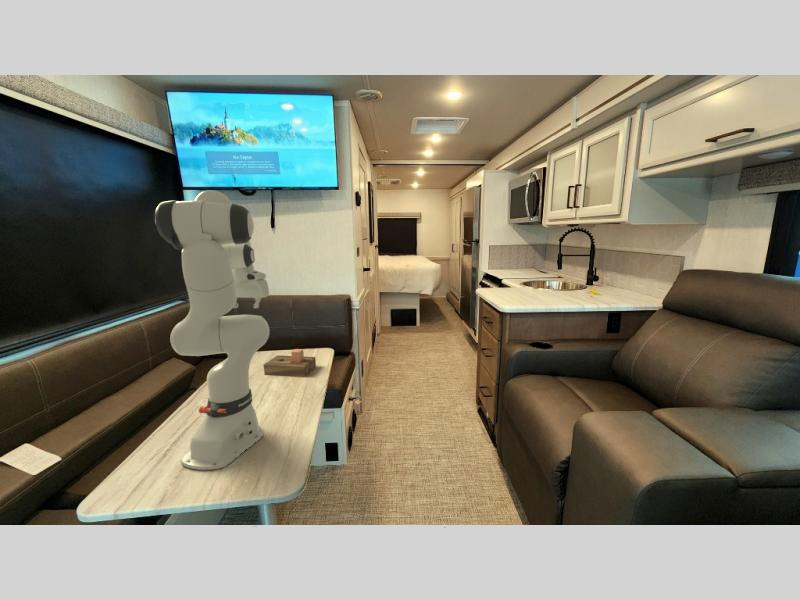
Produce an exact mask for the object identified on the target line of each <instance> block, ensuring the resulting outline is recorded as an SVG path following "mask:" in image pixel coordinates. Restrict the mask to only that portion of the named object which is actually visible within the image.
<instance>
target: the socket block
mask: <svg viewBox="0 0 800 600" xmlns="http://www.w3.org/2000/svg"><path fill="white" fill-rule="evenodd" d="M316 367H317V364H316V356H304V361H303V362H302V363H301V364H298V363H292V355H280V354H279V355H276V356H274V357H273V358H271V359H269V360H268V361H267V362H265V363H264V364H263V370H264V371H263V372H264V373H263V374H264V376H278V377H279V376H280V377H295V378H296V377H299V378H306V377H307V376H308V375H309V374H310V373H311V372H312V371H313V370H314V369H316Z"/></svg>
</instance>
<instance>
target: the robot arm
mask: <svg viewBox="0 0 800 600" xmlns="http://www.w3.org/2000/svg"><path fill="white" fill-rule="evenodd" d="M154 223H155V225H156V230H157V232H158V234H159V235H160V236H161V237H162V238H163V239H164V240H165V241H166V242H167V243H168V244H171V245H172V247H173V248H174V249H176V250H178V251H181V268H182V273H183V279H184V283H185V286H186V287H185V288H186V291H187V294H188V295H187V296H188V298H189V299H188V300H189V311H188V314H187V315H186V316H185V318H183V319H182V320H181V321H179V322H178V323H177V324H175V326H173V328H172V331H171V332H170V337H169V340H170V344H171V347H172V349H173V351H175V353H176V354H178V355H179V356H188V357H194V356H195V357H201V356H209V355H216V354H217V355H218V354H227V358H225V359H224V360H222V361H220V362H219V363H218V364H216V365H214V366H213V367H212V368H210V370H209V371H208V373H207V376H206V385H207V390H208V392H207V393H208V398H207V402H206V403H207V405H206V406H205V405H200V406H199V407H198V413H199V414H204V415H205V416H204V418H202V420H201V422H200V424H199V425H198V427H197V428H196V431H195V432H194V433H193V434H192V436H191V439H190V442H189V443H190V444H189V449H190V450H188V452H187V453H186V454H185V455H184V456H183V457H182V458H181V459H180V460H181V461H180V462H181V464H182V466H184V467H186V468H188V469H193V470H200V471H206V470H207V471H208V470H209V471H210V470H217V469H222V468H225V467H227V466H228V465H229V464H230V463H232V462H233V461H235V460H236V459H237V458H239V457H240V456H241V455H242V454H243V453H245V452H246V451H247V450H248V449H250V448H251V447H252V446H253V445H255V444H256V443H257V442H258V440H259V439H260V438H261V437H262V436H263V437H264V435H263V432H262V431H261V429H260V428H261V427H260V426H259V420H258V417H257V412H256V410H255V408H254V406H253V404H252V402H253V394H252V390H251V388H250V384H249V383H250V381H249V380H250V377H249V375H250V374H249V371H250V370H249V369H250V364H251V361H252V359H253V357H254V356H255V354H256V353H257V351H258V350H260V348H262V347H263V346H265V344H266V343H267V341H268V340H269V336H270V326H269V323H268V321H267V320H266V319H265V318H264V316H262V315H255V314H245V313H244V314H235V315H227V314H228V313H229V312H230V311H231V310H232V309H237V308H239V306H240V305H239V302H237V300H238V298H246V299H247V298H254V301H255V303H253V304H252V307H253V309H259V308H260V302H261V300H262V299H263V298H267V297H268V296H269V294H270V291H269V290H270V289H269V285H268V281H267V280H266V278H267V275H266V273H265V272H261V271H258V270H256V269H254V267H255V266H254V263H255V261H256V260H255V250H254V248H253V247H252V244H251V241H250V240H251V239H252V236H253V233H254V229H255V225H254V220H253V217H252V216H251V213H250V211H249V210H248V209H247V208H246V207H244V205H243V206H242V205H239V204H235V203H233V202H232V201H231V200H230V198H228V197H227V195H225V194H224V193H222V192H220V191H218V190H215V189H214V190H211V189H209V190H208V189H207V190H204V191H202V192H200V193H199V194H198V195H196V197H195V199H194V200H181V201H179V200H175V199H174V200H168V201H167V200H166V201H162V202H160V203H159V204H158V206H157V207H156V208H155V211H154ZM224 315H225V316H224ZM263 437H262V438H263ZM262 438H261V439H262ZM261 439H260V440H261ZM260 440H259V441H260ZM255 442H256V443H255ZM254 443H255V444H254ZM249 447H250V448H249ZM246 449H247V450H246ZM245 450H246V451H245ZM244 451H245V452H244ZM242 452H243V453H242ZM241 453H242V454H241ZM240 454H241V455H240ZM235 458H236V459H235Z"/></svg>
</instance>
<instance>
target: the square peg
mask: <svg viewBox="0 0 800 600" xmlns="http://www.w3.org/2000/svg"><path fill="white" fill-rule="evenodd" d="M290 354H291V355H290V356H292V363H298V364H301V363H302V362H303V361H304V357H305V355H304V354H305V353H304V349H301V348H295V349H293V350H292V351H291V352H290Z"/></svg>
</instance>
